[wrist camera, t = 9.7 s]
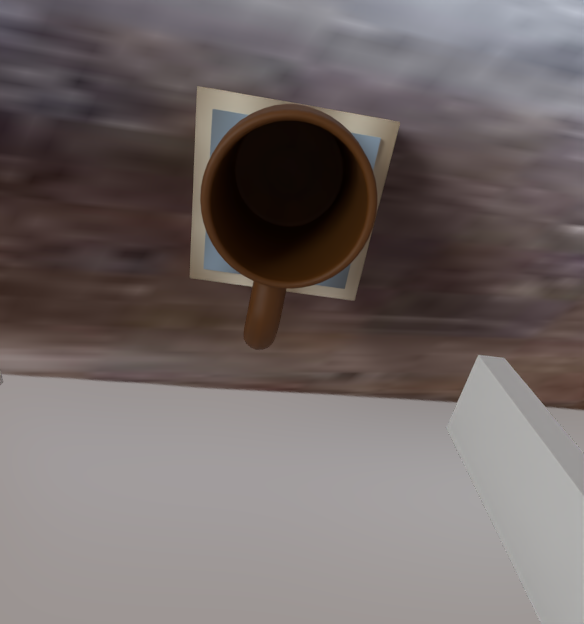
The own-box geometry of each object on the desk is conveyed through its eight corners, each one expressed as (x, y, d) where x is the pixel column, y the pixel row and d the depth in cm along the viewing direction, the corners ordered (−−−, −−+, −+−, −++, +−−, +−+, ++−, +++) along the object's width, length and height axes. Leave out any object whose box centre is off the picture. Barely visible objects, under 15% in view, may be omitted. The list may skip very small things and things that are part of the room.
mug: (315, 300, 29) (326, 382, 21) (210, 279, 28) (177, 354, 20) (366, 121, 23) (409, 133, 15) (238, 87, 23) (208, 81, 14)
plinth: (204, 251, 33) (188, 280, 28) (213, 88, 28) (195, 86, 23) (344, 271, 34) (355, 303, 29) (381, 118, 29) (401, 122, 23)
